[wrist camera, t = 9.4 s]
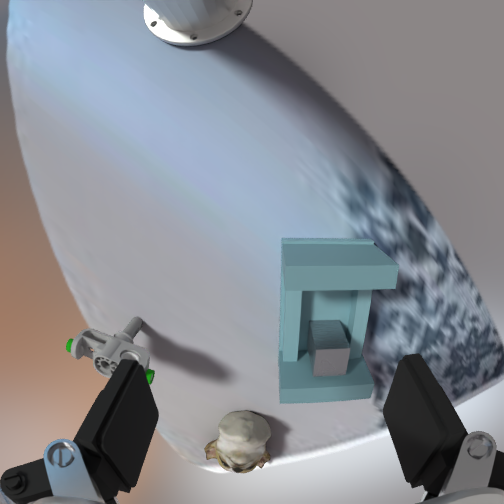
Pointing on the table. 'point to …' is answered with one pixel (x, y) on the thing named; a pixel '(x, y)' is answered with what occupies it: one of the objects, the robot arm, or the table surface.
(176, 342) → the table surface
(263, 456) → the ceramic sculpture
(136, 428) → the robot arm
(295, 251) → the teal open frame
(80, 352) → the mechanical component
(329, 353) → the brushed grey metal block
